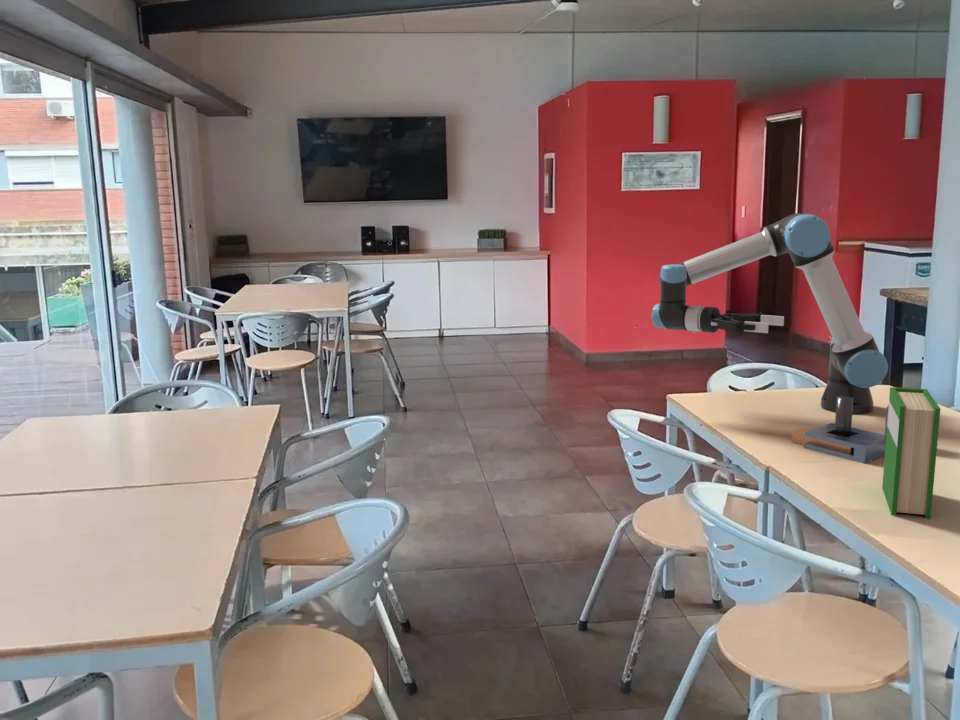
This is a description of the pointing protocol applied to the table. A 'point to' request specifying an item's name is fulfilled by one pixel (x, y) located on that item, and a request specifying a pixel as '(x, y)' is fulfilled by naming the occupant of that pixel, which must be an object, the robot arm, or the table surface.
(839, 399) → the pin
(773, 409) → the table surface
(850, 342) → the robot arm
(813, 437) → the orange grey flat block
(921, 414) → the hardback book
